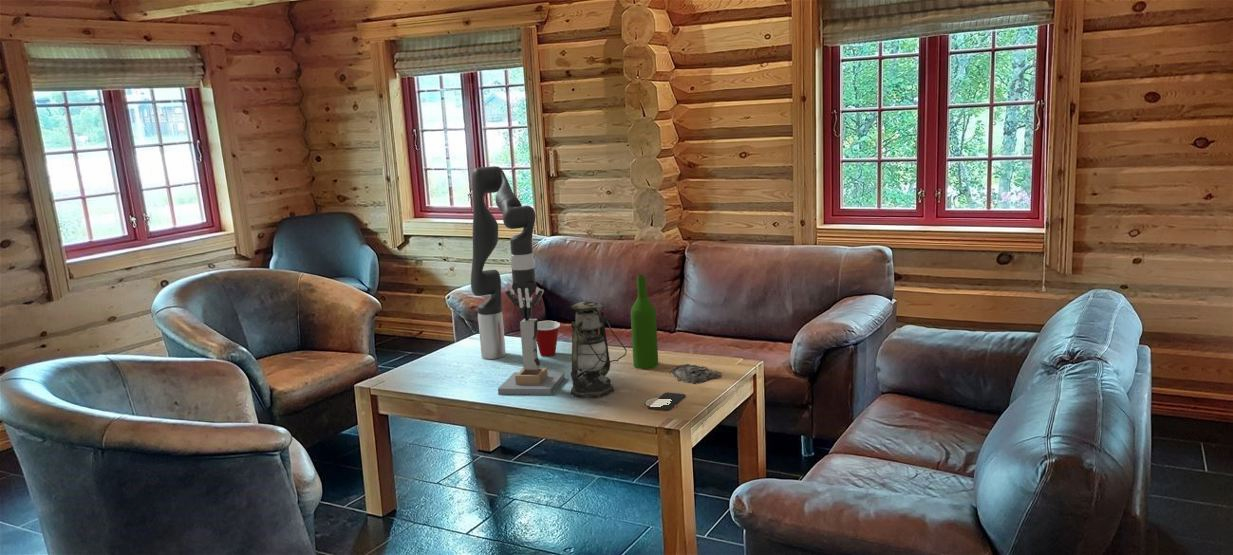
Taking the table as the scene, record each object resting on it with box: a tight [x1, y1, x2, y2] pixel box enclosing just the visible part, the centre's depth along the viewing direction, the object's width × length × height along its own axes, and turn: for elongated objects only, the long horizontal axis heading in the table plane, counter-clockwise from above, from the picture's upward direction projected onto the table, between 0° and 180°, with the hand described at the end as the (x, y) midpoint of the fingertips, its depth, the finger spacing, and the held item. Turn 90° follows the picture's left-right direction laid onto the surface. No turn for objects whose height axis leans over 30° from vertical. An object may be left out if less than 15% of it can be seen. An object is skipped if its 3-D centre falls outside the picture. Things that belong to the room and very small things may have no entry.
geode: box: [670, 363, 723, 385], centre depth 301 cm, size 19×4×15 cm
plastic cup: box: [536, 320, 561, 357], centre depth 337 cm, size 11×11×12 cm
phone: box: [647, 391, 687, 412], centre depth 276 cm, size 7×1×15 cm
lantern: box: [569, 300, 627, 399], centre depth 287 cm, size 19×19×30 cm
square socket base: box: [497, 367, 566, 396], centre depth 300 cm, size 18×18×5 cm
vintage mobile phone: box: [519, 297, 542, 370], centre depth 297 cm, size 4×5×25 cm
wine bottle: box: [630, 274, 659, 370], centre depth 313 cm, size 9×9×32 cm
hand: (526, 318), depth 296 cm, fingers closed on vintage mobile phone, 1 cm apart
